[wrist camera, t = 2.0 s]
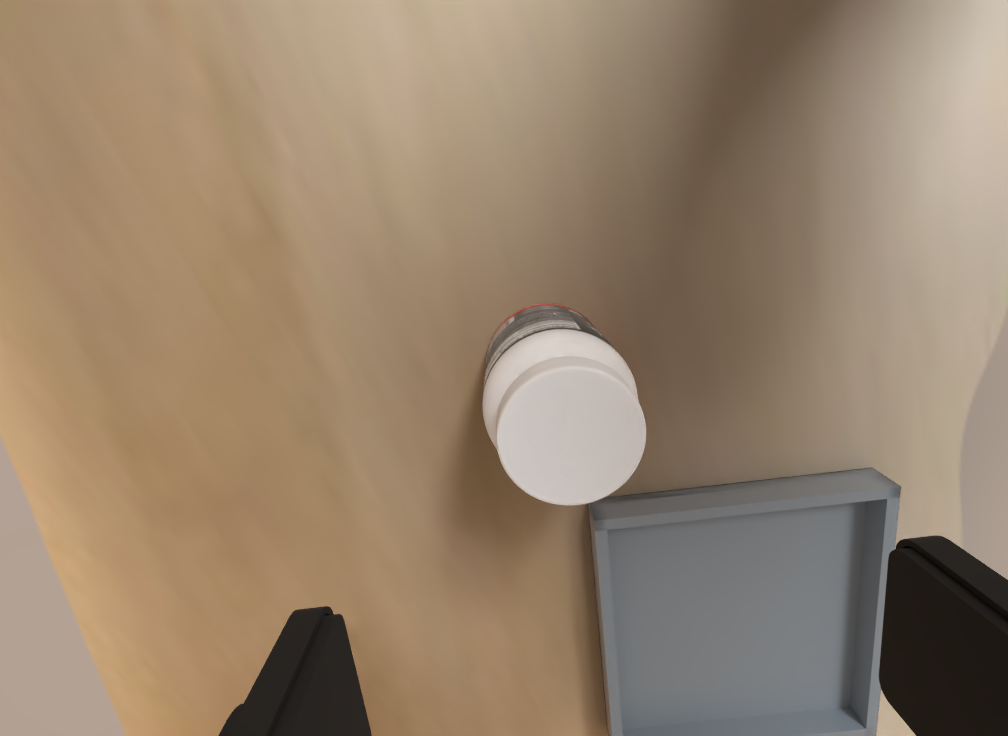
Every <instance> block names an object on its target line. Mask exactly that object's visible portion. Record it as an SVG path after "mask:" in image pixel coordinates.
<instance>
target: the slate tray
mask: <svg viewBox="0 0 1008 736" xmlns="http://www.w3.org/2000/svg"><path fill="white" fill-rule="evenodd" d="M900 490H901V486H899V485H898V484H896V483H895V482H893V481H892V480H890V479H889V478H887V477H886V476H884V475H883V474H881V473H880V472H878V471H877V470H875V469H874V468H866V469H857V470H848V471H839V472H830V473H821V474H812V475H804V476H795V477H786V478H777V479H768V480H759V481H750V482H741V483H733V484H724V485H715V486H706V487H697V488H688V489H679V490H670V491H662V492H653V493H644V494H635V495H626V496H617V497H608V498H602V499H599V500H597V501H594V502H591V503H588V511H589V522H590V534H591V545H592V557H593V569H594V580H595V592H596V603H597V615H598V626H599V638H600V649H601V661H602V672H603V684H604V695H605V707H606V718H607V730H608V734H609V736H876V731H877V721H878V711H879V701H880V691H881V686H880V682H879V666H880V654H881V641H882V629H883V617H884V605H885V593H886V581H887V568H888V557H889V554H890V552H891V551H892V550H895V540H896V530H897V520H898V510H899V500H900Z"/></svg>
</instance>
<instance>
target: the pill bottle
mask: <svg viewBox="0 0 1008 736" xmlns="http://www.w3.org/2000/svg"><path fill="white" fill-rule="evenodd" d="M482 408H483V417H484V422H485V426H486V430H487V432H488V435H489V437H490V439H491V441H492V443H493V444H494V446H495V447H496V449H497V451H498V455H499V458H500V461H501V464H502V466H503V468H504V470H505V471H506V473H507V474H508V476H509V477H510V478H511V480H512V481H513V482H514V483H515V484H516V485H517V486H518V487H519V488H520V489H522V490H523V491H524V492H526V493H527V494H529V495H531V496H533V497H534V498H536V499H539V500H541V501H544V502H547V503H551V504H556V505H566V506H569V505H581V504H587V503H591V502H594V501H597V500H599V499H602V498H604V497H606V496H608V495H610V494H611V493H613V492H614V491H616V490H617V489H618V488H620V487H621V486H622V485H623V484H624V483H626V481H627V480H628V479H629V478H630V477H631V475H632V474H633V472H634V471H635V470H636V468H637V466H638V464H639V462H640V460H641V458H642V455H643V452H644V448H645V443H646V423H645V418H644V415H643V411H642V409H641V406H640V404H639V402H638V393H637V388H636V384H635V380H634V378H633V375H632V373H631V371H630V369H629V367H628V365H627V364H626V362H625V361H624V359H623V358H622V357H621V355H620V354H619V353H618V352H617V351H616V350H615V348H614V347H613V346H612V345H611V344H610V343H609V342H608V341H607V340H606V339H605V338H604V337H603V335H602V334H601V333H600V332H599V331H598V330H597V329H596V327H594V325H593V324H592V323H591V322H590V321H589V320H588V319H587V318H585V317H584V316H583V315H581V314H580V313H578V312H577V311H575V310H573V309H571V308H568V307H565V306H562V305H557V304H536V305H531V306H528V307H525V308H523V309H520V310H518V311H517V312H515V313H513V314H512V315H510V316H509V317H508V318H507V319H506V320H505V321H504V322H503V323H502V324H501V325H500V326H499V327H498V329H497V330H496V332H495V333H494V335H493V337H492V339H491V341H490V344H489V347H488V351H487V356H486V367H485V377H484V388H483V397H482Z"/></svg>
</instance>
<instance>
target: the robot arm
mask: <svg viewBox="0 0 1008 736" xmlns="http://www.w3.org/2000/svg"><path fill="white" fill-rule="evenodd" d="M879 682H880V686H881V689H882V691H883V694H884V695H885V697H886V699H887V700H888V702H889V703H890V705H891V706H892V707H893V708H894V709H895V711H896V712H897V713H898V714H899V715H900V717H901V718H902V719H903V720H904V721H905V723H906V724H907V725H908V726H909V727H910V729H911V730H912V731H913V732H914V733H915V735H916V736H1008V580H1007V579H1005V578H1004V577H1002V576H1001V575H999V574H998V573H997V572H995V571H994V570H992V569H991V568H989V567H988V566H986V565H985V564H983V563H982V562H981V561H979V560H978V559H976V558H975V557H973V556H972V555H970V554H969V553H967V552H966V551H964V550H963V549H962V548H960V547H959V546H957V545H956V544H954V543H953V542H951V541H950V540H948V539H946V538H944V537H942V536H928V537H919V538H910V539H904V540H901V541H899V542H898V544H897V545H896V549H895V550H892V551H891V552H890V554H889V557H888V568H887V581H886V593H885V605H884V617H883V629H882V641H881V654H880V666H879ZM219 736H372V735H371V730H370V726H369V722H368V718H367V713H366V709H365V705H364V701H363V697H362V693H361V689H360V684H359V680H358V676H357V672H356V668H355V664H354V660H353V655H352V651H351V647H350V643H349V639H348V635H347V631H346V626H345V622H344V619H343V617H342V615H340V614H336V615H334V614H333V611H332V609H331V608H330V607H327V606H326V607H317V608H309V609H300V610H295V611H294V612H293V613H292V614H291V615H290V617H289V619H288V621H287V623H286V625H285V626H284V628H283V630H282V632H281V634H280V636H279V638H278V640H277V642H276V644H275V645H274V647H273V649H272V651H271V653H270V655H269V657H268V659H267V661H266V662H265V664H264V666H263V668H262V670H261V672H260V674H259V676H258V678H257V680H256V681H255V683H254V685H253V687H252V689H251V691H250V693H249V695H248V697H247V698H246V700H245V702H244V704H241V705H239V706H238V707H237V708H236V709H234V711H233V712H232V714H231V715H230V716H229V718H228V719H227V721H226V723H225V725H224V727H223V729H222V730H221V732H220V734H219Z"/></svg>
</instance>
